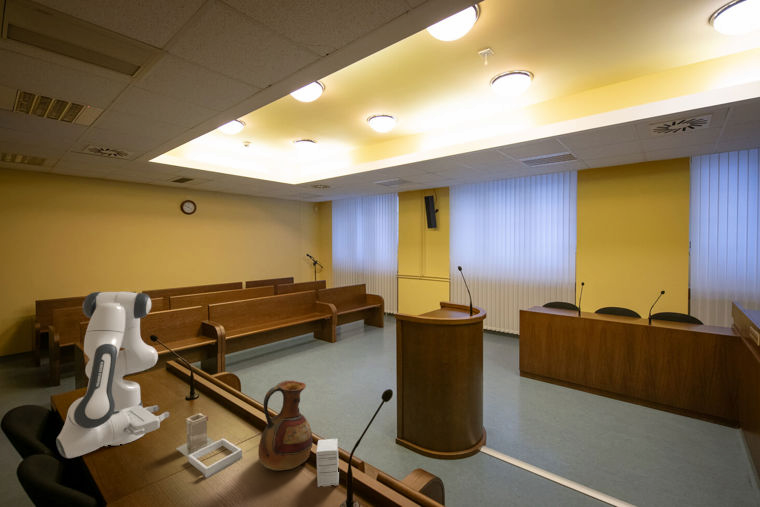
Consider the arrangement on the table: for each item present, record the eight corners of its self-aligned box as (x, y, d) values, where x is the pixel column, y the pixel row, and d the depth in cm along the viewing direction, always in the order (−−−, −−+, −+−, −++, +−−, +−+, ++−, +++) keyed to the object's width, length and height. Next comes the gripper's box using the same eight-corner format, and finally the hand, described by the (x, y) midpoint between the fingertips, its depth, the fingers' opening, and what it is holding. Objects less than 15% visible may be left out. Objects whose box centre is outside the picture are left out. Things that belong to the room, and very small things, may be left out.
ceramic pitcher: (318, 467, 127) (316, 388, 126) (262, 485, 118) (259, 401, 117) (305, 440, 145) (303, 371, 144) (256, 454, 136) (253, 381, 135)
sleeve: (187, 446, 141) (186, 418, 140) (204, 438, 146) (203, 411, 146) (193, 451, 137) (192, 422, 137) (211, 442, 143) (210, 415, 143)
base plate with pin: (175, 450, 140) (174, 429, 140) (205, 436, 150) (204, 417, 149) (189, 461, 133) (188, 439, 133) (218, 445, 142) (218, 425, 142)
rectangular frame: (188, 464, 131) (188, 455, 131) (223, 446, 142) (223, 438, 142) (206, 478, 122) (206, 468, 122) (242, 458, 134) (241, 449, 134)
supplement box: (318, 473, 124) (317, 439, 123) (339, 471, 124) (338, 437, 124) (316, 487, 116) (315, 451, 116) (338, 485, 117) (337, 449, 117)
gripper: (130, 426, 114) (174, 409, 125) (110, 410, 126) (152, 396, 137) (131, 444, 114) (175, 426, 125) (111, 427, 126) (153, 411, 137)
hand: (163, 410), depth 131 cm, fingers open, 8 cm apart
